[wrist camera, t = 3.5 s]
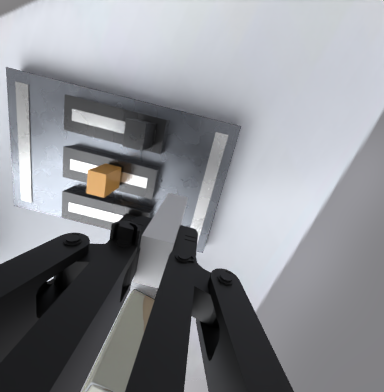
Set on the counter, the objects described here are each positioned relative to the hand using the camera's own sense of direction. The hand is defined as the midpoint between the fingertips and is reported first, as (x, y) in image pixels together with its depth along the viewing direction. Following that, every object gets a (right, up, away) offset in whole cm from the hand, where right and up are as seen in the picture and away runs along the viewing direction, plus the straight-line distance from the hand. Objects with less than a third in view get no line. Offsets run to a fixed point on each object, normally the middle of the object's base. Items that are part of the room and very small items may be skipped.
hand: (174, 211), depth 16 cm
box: (-6, -14, +13) cm, 20 cm away
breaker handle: (-6, +3, +3) cm, 8 cm away
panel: (-6, +4, +7) cm, 10 cm away
